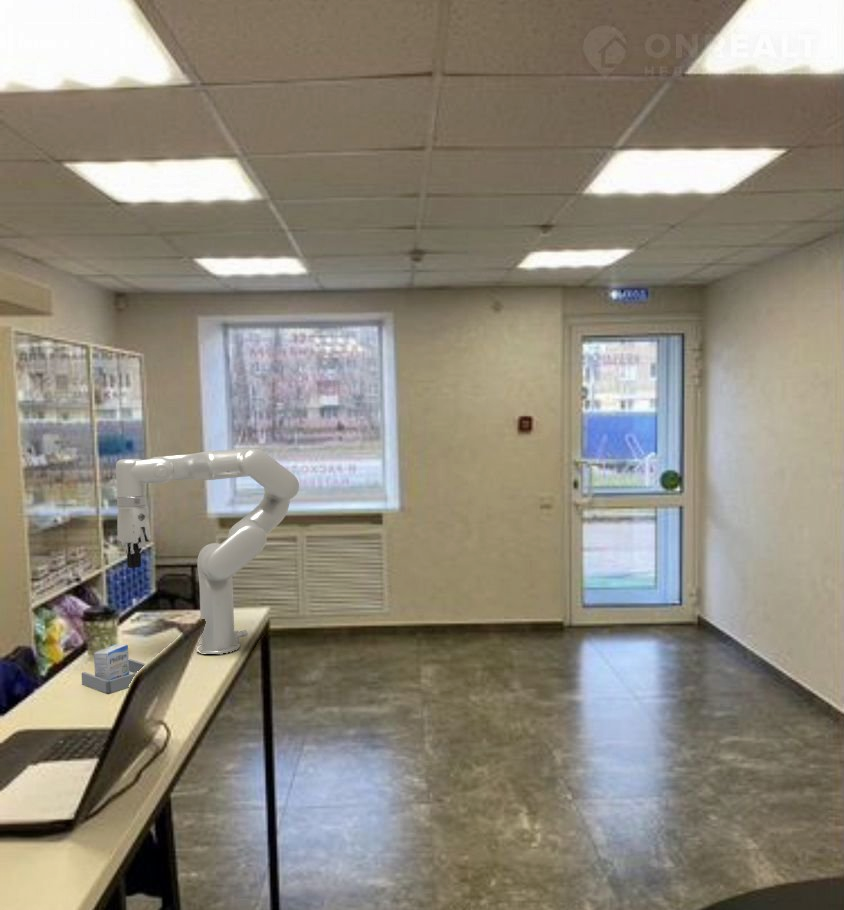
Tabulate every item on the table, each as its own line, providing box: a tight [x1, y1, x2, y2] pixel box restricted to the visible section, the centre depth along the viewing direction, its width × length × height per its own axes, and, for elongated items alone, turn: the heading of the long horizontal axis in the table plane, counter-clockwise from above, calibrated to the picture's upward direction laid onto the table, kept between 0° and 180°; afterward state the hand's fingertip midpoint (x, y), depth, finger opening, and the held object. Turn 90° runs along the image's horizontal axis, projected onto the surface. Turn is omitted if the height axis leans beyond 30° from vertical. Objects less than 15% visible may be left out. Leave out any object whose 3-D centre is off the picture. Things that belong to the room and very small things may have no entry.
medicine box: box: [93, 643, 130, 681], centre depth 189 cm, size 8×4×9 cm, turn 163°
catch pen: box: [81, 658, 146, 695], centre depth 188 cm, size 14×13×3 cm
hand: (134, 567), depth 204 cm, fingers closed
